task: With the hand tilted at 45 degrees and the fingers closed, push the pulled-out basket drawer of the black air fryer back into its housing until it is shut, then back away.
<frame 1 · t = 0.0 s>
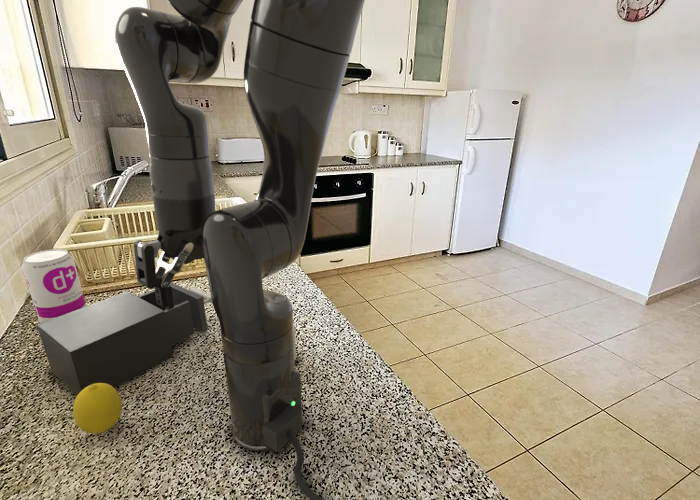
hand: (194, 295, 55), 17 cm above the countertop, tool pointing down, fingers open, 8 cm apart
lemon: (104, 431, 53), on the countertop
air fryer: (114, 363, 67), on the countertop
fryer drawer: (167, 314, 74), point 5 cm above the countertop, slide at 7.0 cm
supplement can: (65, 321, 80), on the countertop
container: (267, 364, 68), on the countertop
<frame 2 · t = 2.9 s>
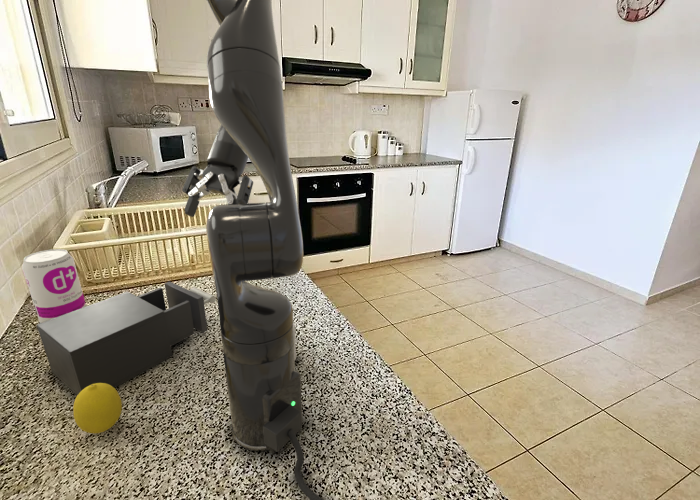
hand: (206, 219, 76), 22 cm above the countertop, tool tilted 35°, fingers open, 8 cm apart
nothing on the countertop moved.
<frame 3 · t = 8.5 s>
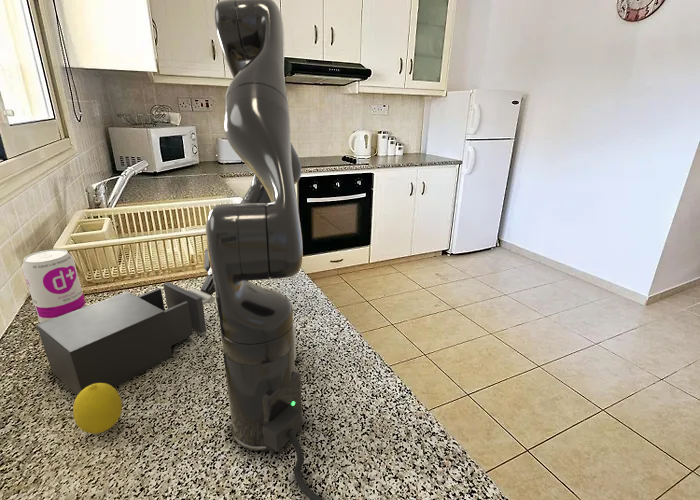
hand: (205, 293, 80), 6 cm above the countertop, tool tilted 45°, fingers closed
fryer drawer: (166, 315, 73), point 5 cm above the countertop, slide at 6.7 cm, touching gripper
everything else where it was.
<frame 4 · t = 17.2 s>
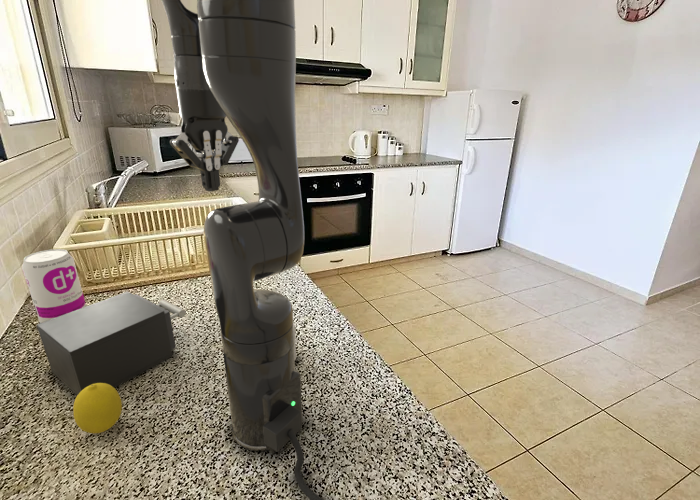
hand: (212, 190, 69), 29 cm above the countertop, tool pointing down, fingers closed
fryer drawer: (131, 331, 68), point 5 cm above the countertop, slide at 0.0 cm, touching air fryer
everything else where it was.
at the end: fryer drawer slide at 0.0 cm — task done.
